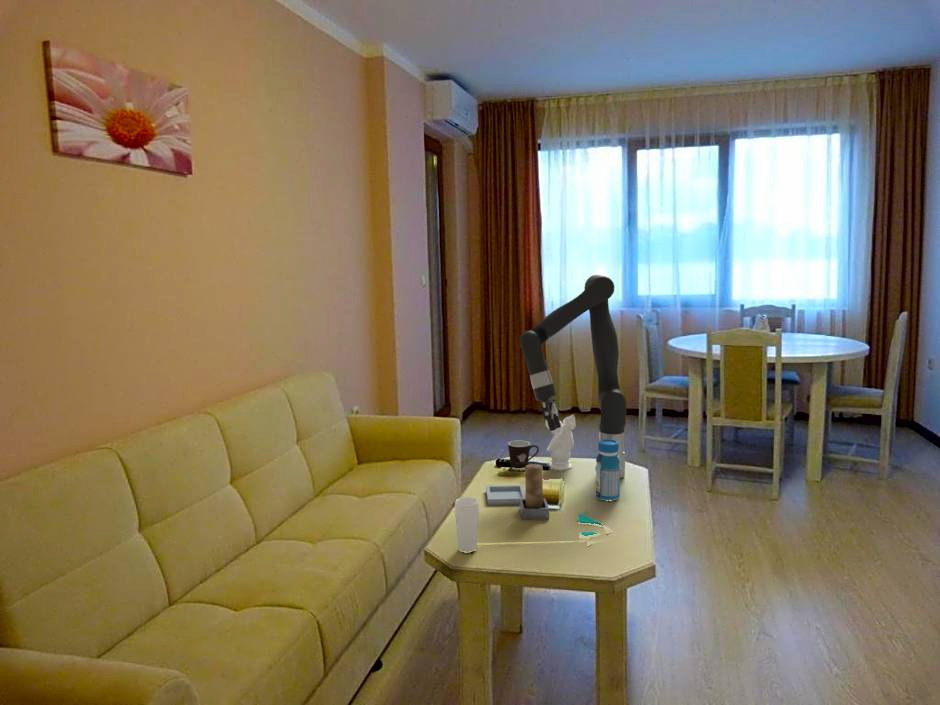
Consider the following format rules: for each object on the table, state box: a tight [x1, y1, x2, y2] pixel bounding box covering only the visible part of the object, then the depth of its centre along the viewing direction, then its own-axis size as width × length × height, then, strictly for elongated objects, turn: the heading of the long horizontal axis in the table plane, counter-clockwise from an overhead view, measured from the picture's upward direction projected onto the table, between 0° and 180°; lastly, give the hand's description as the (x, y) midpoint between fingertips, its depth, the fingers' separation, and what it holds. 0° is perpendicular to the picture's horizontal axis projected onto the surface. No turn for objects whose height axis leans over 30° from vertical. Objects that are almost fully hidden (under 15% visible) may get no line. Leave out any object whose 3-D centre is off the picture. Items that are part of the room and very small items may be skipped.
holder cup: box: [518, 498, 550, 521], centre depth 226 cm, size 9×9×4 cm
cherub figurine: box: [544, 414, 577, 472], centre depth 272 cm, size 12×12×22 cm
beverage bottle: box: [595, 439, 621, 502], centre depth 239 cm, size 8×8×20 cm
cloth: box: [577, 510, 603, 536], centre depth 215 cm, size 26×14×2 cm, turn 160°
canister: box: [524, 463, 544, 508], centre depth 225 cm, size 6×6×16 cm
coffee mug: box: [507, 439, 540, 468], centre depth 271 cm, size 12×9×10 cm
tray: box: [485, 484, 525, 506], centre depth 240 cm, size 13×13×2 cm
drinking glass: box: [454, 496, 480, 552], centre depth 201 cm, size 7×7×15 cm
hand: (555, 429), depth 248 cm, fingers open, 8 cm apart
